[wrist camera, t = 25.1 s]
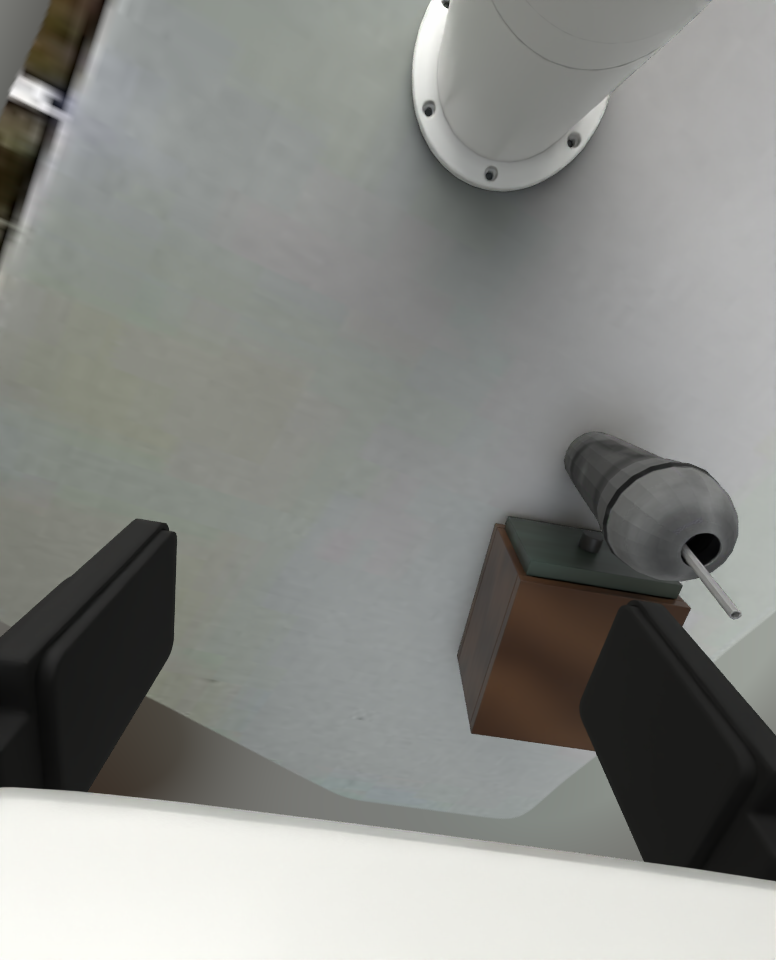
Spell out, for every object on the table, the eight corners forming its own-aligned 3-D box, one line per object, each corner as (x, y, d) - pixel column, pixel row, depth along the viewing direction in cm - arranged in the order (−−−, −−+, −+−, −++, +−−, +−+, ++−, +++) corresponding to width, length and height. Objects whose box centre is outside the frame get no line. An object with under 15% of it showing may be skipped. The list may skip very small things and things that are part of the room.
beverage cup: (653, 462, 41) (872, 608, 22) (578, 514, 43) (724, 690, 24) (606, 396, 39) (803, 495, 20) (530, 453, 41) (647, 593, 22)
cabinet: (495, 522, 43) (520, 580, 35) (633, 546, 44) (691, 608, 35) (456, 655, 48) (470, 733, 40) (580, 674, 49) (620, 755, 41)
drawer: (511, 503, 41) (535, 545, 35) (641, 525, 42) (689, 571, 35) (469, 643, 47) (483, 704, 40) (585, 661, 47) (618, 724, 40)
